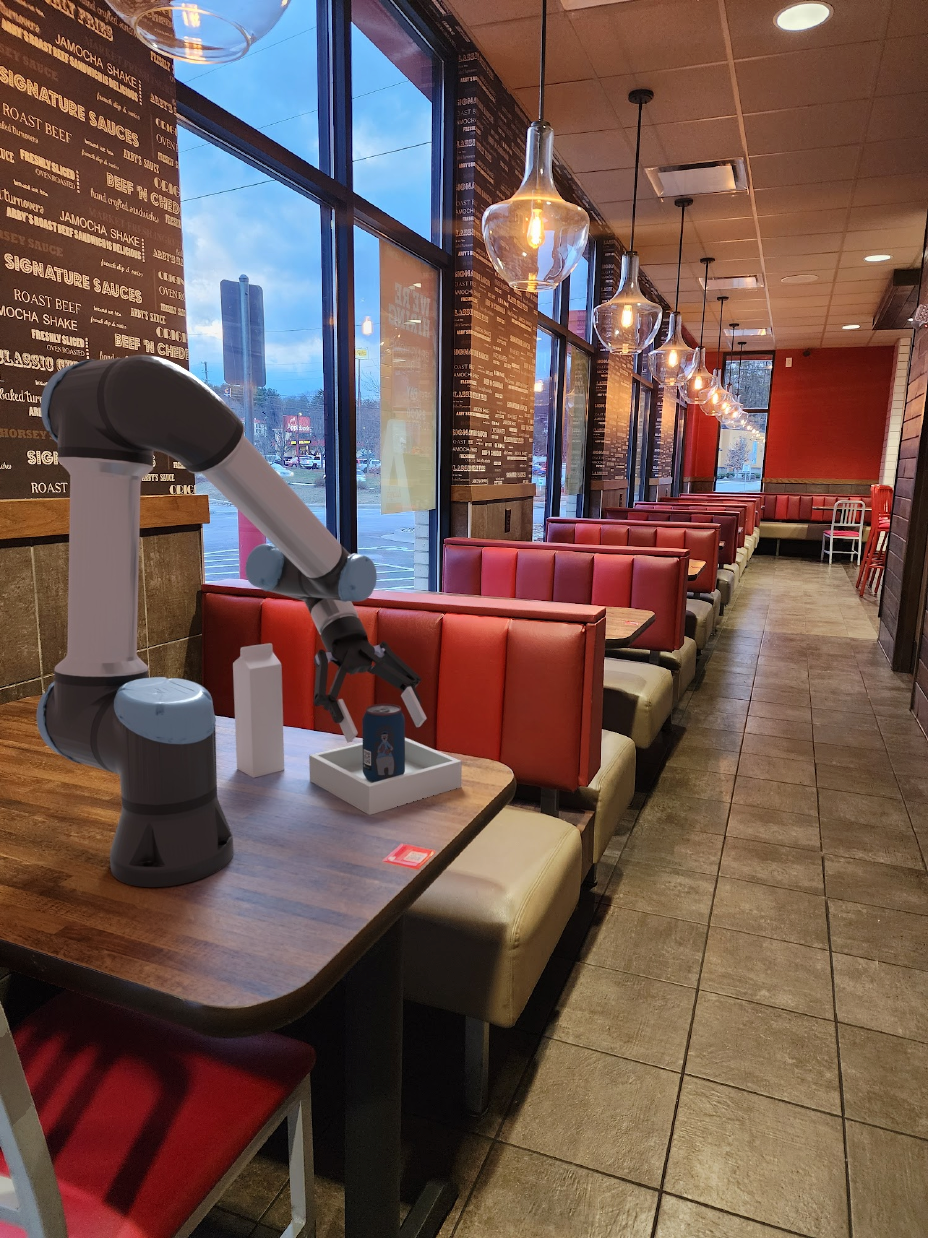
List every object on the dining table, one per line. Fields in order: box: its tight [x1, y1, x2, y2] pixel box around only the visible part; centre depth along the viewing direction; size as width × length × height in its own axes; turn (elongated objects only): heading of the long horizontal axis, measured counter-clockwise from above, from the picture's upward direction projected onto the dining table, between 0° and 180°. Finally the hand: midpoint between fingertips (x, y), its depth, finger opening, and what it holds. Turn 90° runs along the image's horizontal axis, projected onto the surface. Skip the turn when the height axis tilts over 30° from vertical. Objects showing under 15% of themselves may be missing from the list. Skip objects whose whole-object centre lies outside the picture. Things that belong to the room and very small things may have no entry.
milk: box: [232, 643, 285, 779], centre depth 136 cm, size 6×6×22 cm
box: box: [308, 737, 463, 816], centre depth 131 cm, size 18×18×4 cm
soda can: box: [361, 703, 406, 783], centre depth 130 cm, size 7×7×12 cm
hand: (388, 730), depth 130 cm, fingers open, 13 cm apart
